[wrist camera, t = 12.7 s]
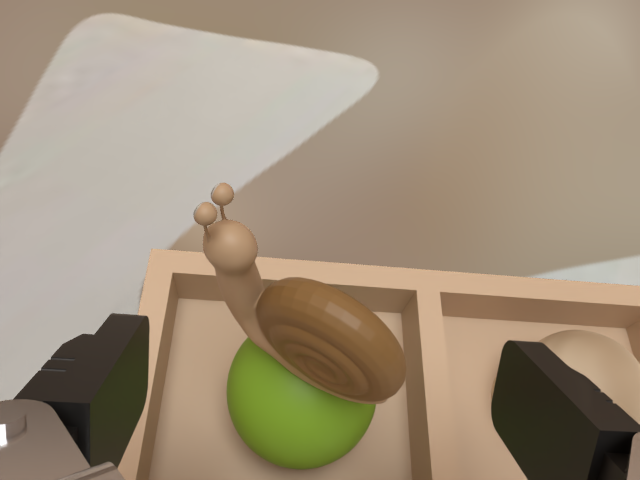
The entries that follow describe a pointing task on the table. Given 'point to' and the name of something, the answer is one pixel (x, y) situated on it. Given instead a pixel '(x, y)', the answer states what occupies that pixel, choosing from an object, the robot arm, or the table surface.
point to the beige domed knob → (600, 365)
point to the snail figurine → (297, 354)
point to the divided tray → (389, 417)
